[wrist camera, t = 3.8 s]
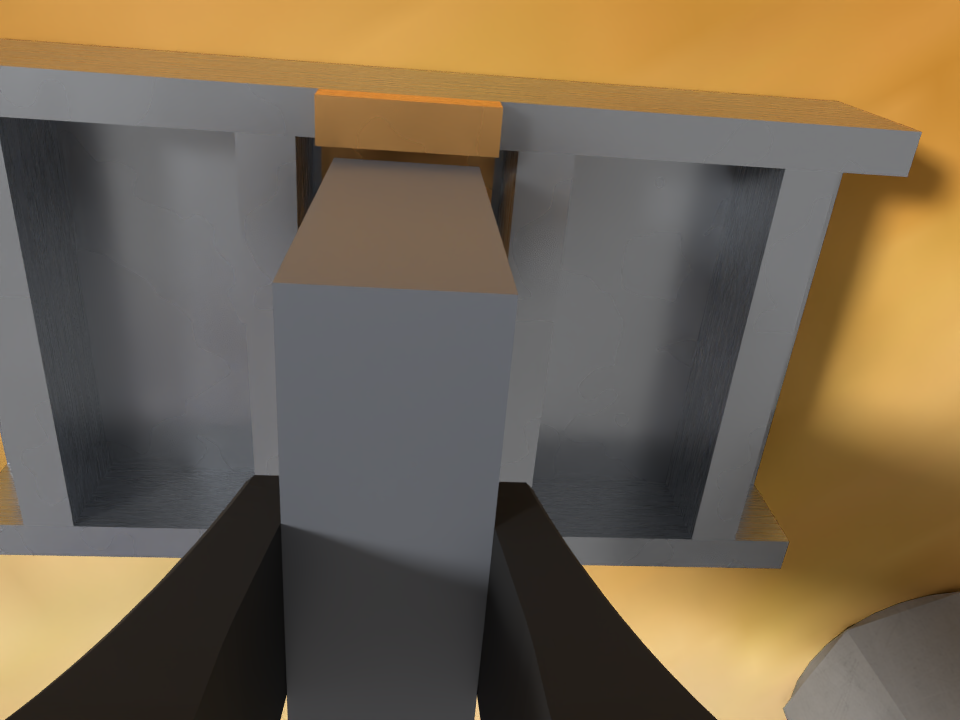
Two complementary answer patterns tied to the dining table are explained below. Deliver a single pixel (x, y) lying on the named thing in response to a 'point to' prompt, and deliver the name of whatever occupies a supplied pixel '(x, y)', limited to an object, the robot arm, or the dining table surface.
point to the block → (390, 438)
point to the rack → (529, 249)
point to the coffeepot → (887, 667)
